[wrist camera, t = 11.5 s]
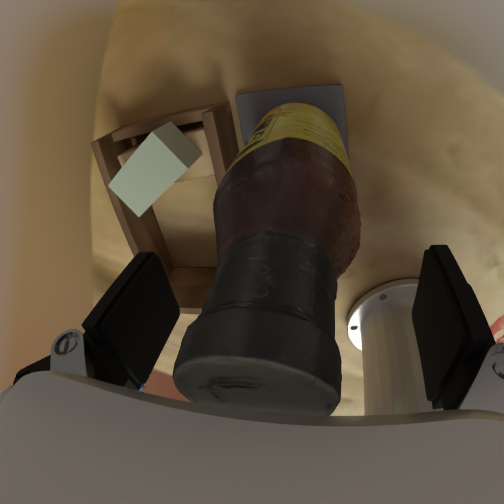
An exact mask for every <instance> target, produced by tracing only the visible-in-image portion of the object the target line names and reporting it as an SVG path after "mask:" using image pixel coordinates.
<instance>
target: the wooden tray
mask: <svg viewBox="0 0 504 504" xmlns="http://www.w3.org/2000/svg"><path fill="white" fill-rule="evenodd" d="M170 121H171V122H172V123H173V124H174V125H175V126H179V125H184V124H188V123H193V122H199V121H203V125H204V130H205V134H206V139H207V143H208V147H209V152H210V156H211V160H212V165H213V169H214V173H215V177H216V182H217V186H218V187H219V184H220V182H221V181H222V179H223V177H224V176H225V173H226V171H227V170H228V168H229V167H230V166H231V164H232V162H233V161H234V160H235V158H236V157H237V155H238V153H239V149H238V144H237V138H236V133H235V128H234V123H233V118H232V113H231V108H230V103H229V102H226V103H220V104H215V105H209V106H204V107H199V108H194V109H190V110H185V111H181V112H176V113H172V114H168V115H164V116H160V117H156V118H152V119H149V120H145V121H141V122H138V123H134V124H131V125H128V126H124V127H121V128H119V129H117V130H115V131H113V132H111V133H109V134H107V135H105V136H103V137H101V138H99V139H97V140H95V141H94V142H92V143H91V146H92V149H93V152H94V155H95V158H96V161H97V164H98V167H99V170H100V172H101V175H102V178H103V181H104V184H105V186H106V189H107V192H108V194H109V197H110V200H111V202H112V205H113V207H114V210H115V213H116V215H117V218H118V220H119V222H120V225H121V227H122V230H123V232H124V235H125V237H126V239H127V242H128V244H129V246H130V249H131V251H132V253H133V255H134V257H135V256H136V254H137V253H139V252H148V251H152V252H154V253H155V254H156V255H158V256H159V257H160V260H161V262H162V265H163V267H164V270H165V273H166V275H167V278H168V280H169V283H170V286H171V288H172V291H173V293H174V296H175V298H176V300H177V303H178V305H179V308H180V313H183V314H201V312H202V308H203V305H204V302H205V300H206V298H207V296H208V294H209V292H210V289H211V286H212V283H213V281H214V278H215V271H216V267H199V268H174V265H173V263H172V260H171V258H170V255H169V253H168V250H167V247H166V245H165V242H164V239H163V236H162V234H161V231H160V228H159V226H158V223H157V220H156V217H155V214H154V211H153V209H152V206H150V207H149V208H148V209H147V210H146V211H145V212H144V213H143V214H142V215H141V216H140V217H138V216H137V215H136V214H135V213H134V212H133V211H132V210H131V209H130V208H129V207H128V206H127V205H126V204H125V203H124V202H123V201H122V200H121V199H120V198H119V197H118V196H117V195H116V194H115V193H114V192H113V191H112V190H111V189H110V188H109V187H108V185H109V184H110V182H111V181H112V180H113V178H114V177H115V176H116V174H117V173H118V172H119V171H120V169H121V168H122V167H121V164H120V161H119V159H118V156H119V155H121V154H122V153H124V152H125V151H127V150H128V149H130V148H131V147H132V143H131V140H130V137H134V136H137V135H141V134H145V133H149V132H152V131H154V130H156V129H157V128H159V127H161V126H163V125H165V124H166V123H168V122H170Z"/></svg>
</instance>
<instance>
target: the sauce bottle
mask: <svg viewBox="0 0 504 504" xmlns="http://www.w3.org/2000/svg"><path fill="white" fill-rule="evenodd" d="M213 213H214V222H215V230H216V241H217V253H218V264H217V267H216V271H215V278H214V281H213V283H212V286H211V289H210V292H209V294H208V296H207V298H206V300H205V302H204V305H203V308H202V312H201V314H200V315H199V316H198V317H197V319H196V320H195V321H194V322H192V323H191V324H190V325H189V326H188V327H187V330H186V332H185V335H184V337H183V339H182V342H181V346H180V350H179V353H178V356H177V359H176V361H175V364H174V370H173V376H172V377H173V380H174V383H175V386H176V387H177V389H178V390H179V392H180V393H181V394H182V395H184V396H185V397H186V398H187V399H188V400H190V401H191V402H192V403H198V404H203V405H209V406H216V407H223V408H230V409H238V410H246V411H255V412H265V413H277V414H292V415H312V416H330V415H331V414H332V413H333V412H334V410H335V409H336V407H337V406H338V404H339V402H340V399H341V381H342V374H341V356H340V351H339V347H338V345H337V343H336V341H335V299H336V293H337V279H338V278H339V276H340V275H341V274H343V273H344V272H345V271H346V269H347V268H348V266H349V265H350V264H351V262H352V260H353V259H354V258H355V255H356V252H357V250H358V249H359V246H360V227H361V222H360V212H359V207H358V204H357V190H356V186H355V182H354V179H353V175H352V171H351V168H350V164H349V161H348V158H347V154H346V151H345V148H344V144H343V141H342V138H341V135H340V132H339V130H338V127H337V125H336V124H335V122H334V121H333V120H332V119H331V117H330V116H329V115H328V114H327V113H326V112H324V111H322V110H321V109H320V108H318V107H316V106H314V105H312V104H309V103H306V102H296V101H294V102H290V103H286V104H283V105H281V106H278V107H276V108H274V109H272V110H271V111H269V112H268V113H267V114H266V115H265V116H264V117H263V118H262V120H261V121H260V123H259V124H258V125H257V127H256V128H255V130H254V131H253V133H252V134H251V135H250V136H249V138H248V140H247V141H246V143H245V144H244V146H243V147H242V148H241V150H240V151H239V153H238V155H237V157H236V158H235V160H234V161H233V162H232V164H231V166H230V167H229V168H228V170H227V171H226V173H225V176H224V177H223V179H222V181H221V182H220V184H219V187H218V189H217V191H216V195H215V198H214V203H213Z"/></svg>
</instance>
